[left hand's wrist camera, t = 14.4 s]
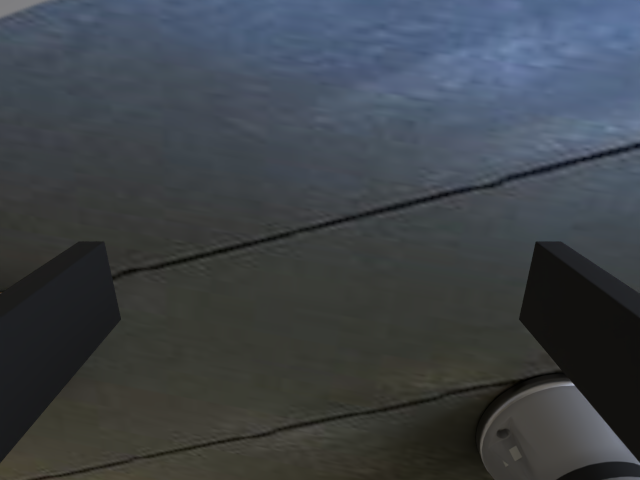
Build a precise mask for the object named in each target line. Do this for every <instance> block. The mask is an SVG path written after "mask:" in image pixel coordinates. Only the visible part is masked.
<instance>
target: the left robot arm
mask: <svg viewBox="0 0 640 480" xmlns="http://www.w3.org/2000/svg"><path fill="white" fill-rule="evenodd" d="M120 320H121V317H120V313H119V308H118V303H117V299H116V294H115V290H114V285H113V280H112V276H111V271H110V266H109V262H108V257H107V253H106V248H105V243H104V242H78V243H76V244H75V245H73V246H72V247H70V248H69V249H67V250H66V251H64V252H63V253H61V254H60V255H58V256H56V257H55V258H53V259H52V260H50V261H49V262H47V263H46V264H44V265H43V266H41V267H40V268H38V269H37V270H35V271H34V272H32V273H31V274H29V275H28V276H26V277H25V278H23V279H22V280H20V281H19V282H17V283H16V284H14V285H13V286H11V287H10V288H8V289H7V290H5V291H4V292H2V293H1V294H0V463H1V461H2V460H3V459H4V458H5V457H6V455H7V454H8V453H9V452H10V451H11V449H12V448H13V447H14V446H15V445H16V444H17V442H18V441H19V440H20V439H21V438H22V436H23V435H24V434H25V433H26V432H27V430H28V429H29V428H30V427H31V426H32V424H33V423H34V422H35V421H36V420H37V419H38V417H39V416H40V415H41V414H42V413H43V411H44V410H45V409H46V408H47V407H48V405H49V404H50V403H51V402H52V401H53V400H54V398H55V397H56V396H57V395H58V394H59V392H60V391H61V390H62V389H63V388H64V386H65V385H66V384H67V383H68V382H69V380H70V379H71V378H72V377H73V376H74V375H75V373H76V372H77V371H78V370H79V369H80V367H81V366H82V365H83V364H84V363H85V361H86V360H87V359H88V358H89V357H90V355H91V354H92V353H93V352H94V351H95V350H96V348H97V347H98V346H99V345H100V344H101V342H102V341H103V340H104V339H105V338H106V336H107V335H108V334H109V333H110V332H111V330H112V329H113V328H114V327H115V326H116V325H117V323H118V322H119V321H120ZM519 320H520V321H521V322H522V323H523V325H524V326H525V327H526V328H527V329H528V330H529V332H530V333H531V334H532V335H533V336H534V338H535V339H536V340H537V341H538V342H539V344H540V345H541V346H542V347H543V348H544V350H545V351H546V352H547V353H548V354H549V355H550V357H551V358H552V359H553V360H554V361H555V363H556V364H557V365H558V366H559V367H560V369H561V370H562V371H563V372H564V373H565V374H551V375H545V376H540V377H536V378H533V379H530V380H527V381H524V382H522V383H520V384H518V385H516V386H514V387H512V388H510V389H509V390H507V391H506V392H504V393H503V394H501V395H500V396H499V397H498V398H496V399H495V400H494V401H493V402H492V403H491V404H490V405H489V407H488V408H487V409H486V410H485V412H484V413H483V415H482V417H481V419H480V421H479V423H478V426H477V431H476V445H477V449H478V452H479V454H480V456H481V459H482V461H483V463H484V465H485V467H486V469H487V471H488V472H489V473H490V475H491V476H492V477H493V479H494V480H640V294H639V293H638V292H636V291H635V290H633V289H632V288H630V287H629V286H627V285H626V284H624V283H623V282H621V281H620V280H618V279H617V278H615V277H614V276H612V275H611V274H609V273H608V272H606V271H605V270H603V269H602V268H600V267H599V266H597V265H596V264H594V263H593V262H591V261H590V260H588V259H587V258H585V257H584V256H582V255H580V254H579V253H577V252H576V251H574V250H573V249H571V248H570V247H568V246H567V245H565V244H564V243H562V242H536V243H535V248H534V253H533V257H532V262H531V266H530V271H529V276H528V280H527V285H526V290H525V294H524V299H523V303H522V308H521V313H520V317H519Z"/></svg>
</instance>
